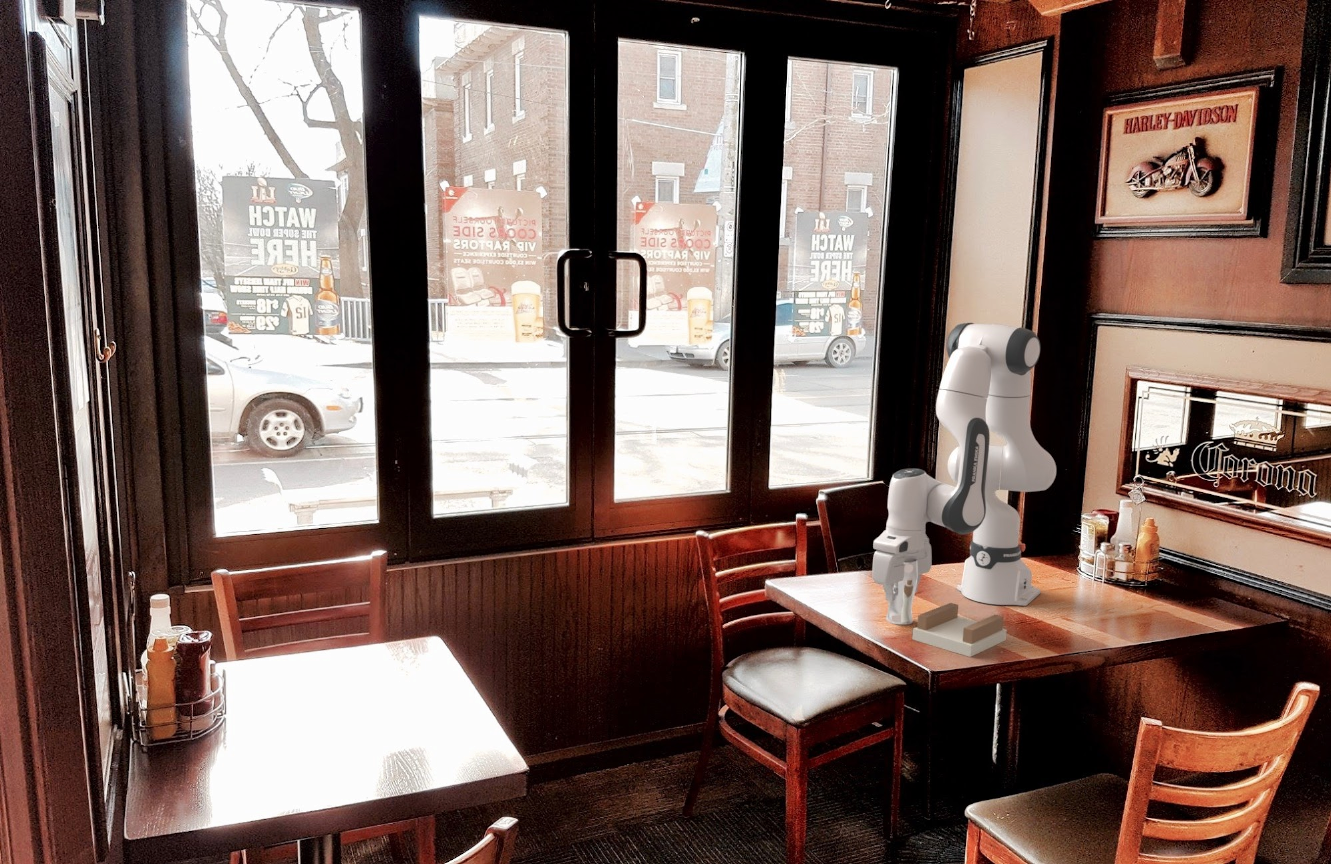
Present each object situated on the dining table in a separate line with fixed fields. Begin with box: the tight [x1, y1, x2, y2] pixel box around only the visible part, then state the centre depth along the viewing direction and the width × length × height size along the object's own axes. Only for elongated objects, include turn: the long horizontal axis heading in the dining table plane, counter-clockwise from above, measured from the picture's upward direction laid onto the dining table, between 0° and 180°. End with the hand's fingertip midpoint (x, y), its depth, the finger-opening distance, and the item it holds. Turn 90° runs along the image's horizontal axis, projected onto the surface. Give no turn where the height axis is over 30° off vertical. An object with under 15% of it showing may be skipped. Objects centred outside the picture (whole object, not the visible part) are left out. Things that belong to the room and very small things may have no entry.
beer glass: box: [885, 559, 918, 626], centre depth 230 cm, size 7×7×15 cm
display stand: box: [911, 602, 1008, 658], centre depth 219 cm, size 16×14×6 cm
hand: (901, 596), depth 230 cm, fingers open, 8 cm apart
